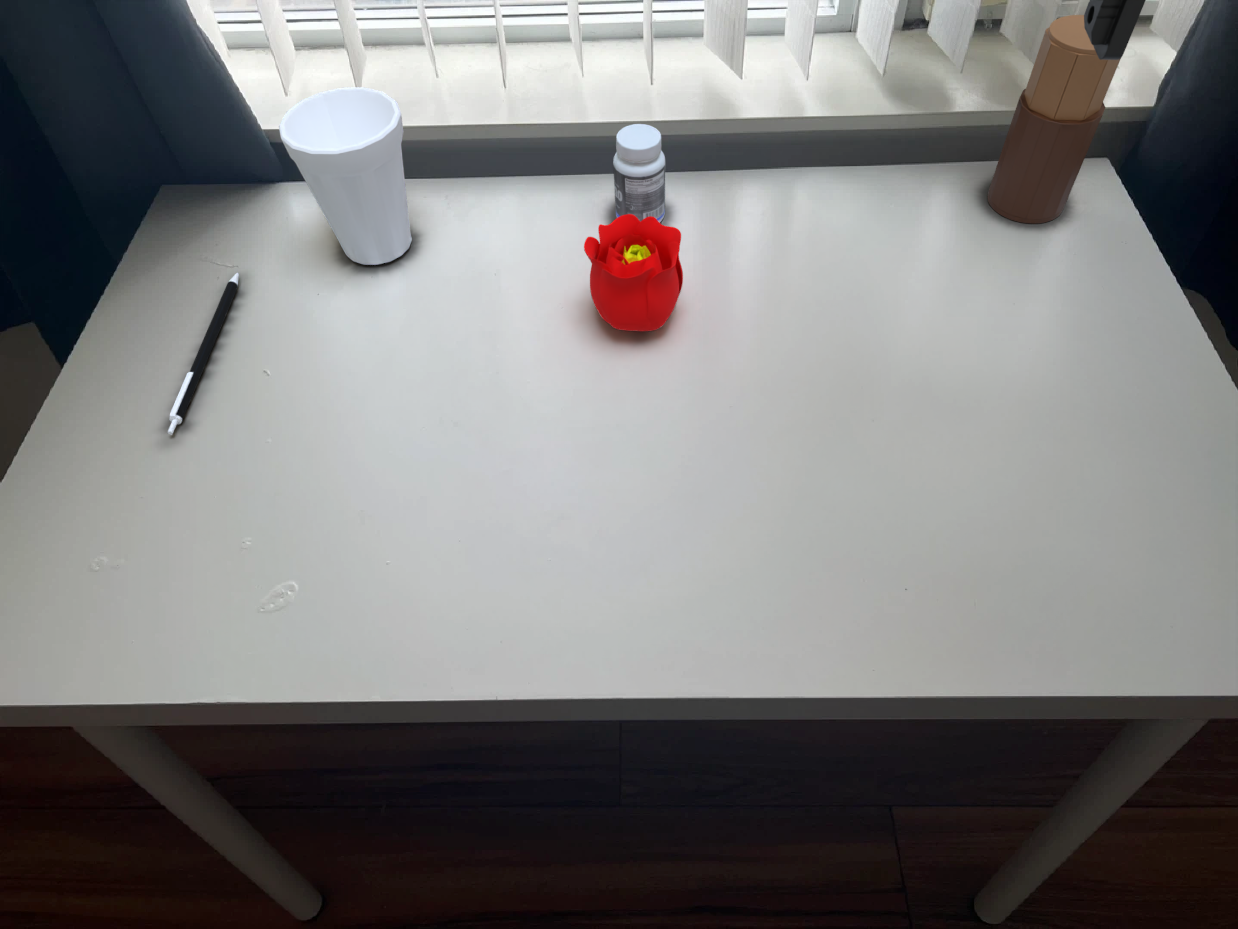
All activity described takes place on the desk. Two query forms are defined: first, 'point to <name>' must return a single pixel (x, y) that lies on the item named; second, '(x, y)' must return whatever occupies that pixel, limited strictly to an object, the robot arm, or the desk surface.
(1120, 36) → the robot arm
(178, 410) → the pen
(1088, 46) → the brown octagonal prism
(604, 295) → the flower
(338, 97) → the cup
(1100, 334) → the desk surface
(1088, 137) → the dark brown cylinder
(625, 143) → the pill bottle
